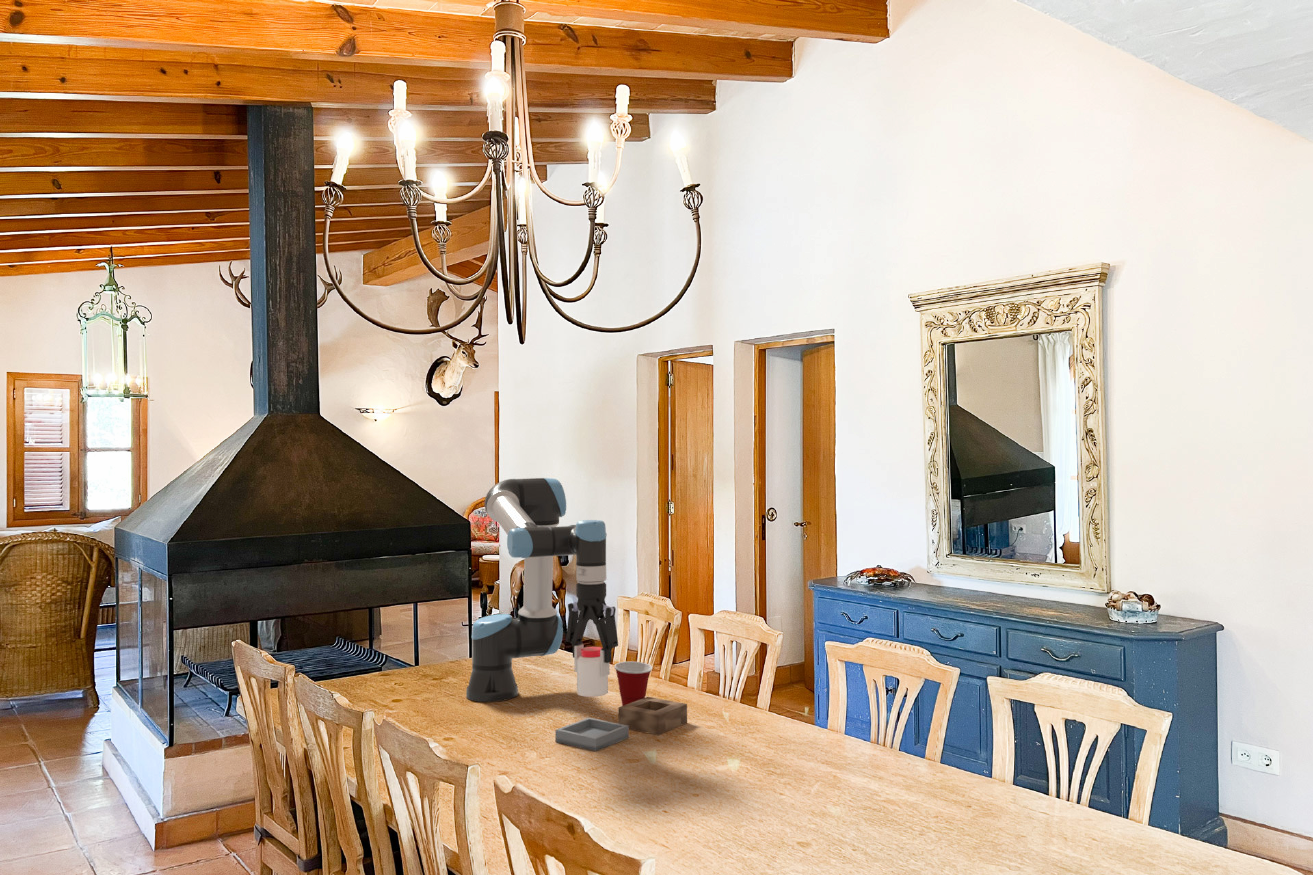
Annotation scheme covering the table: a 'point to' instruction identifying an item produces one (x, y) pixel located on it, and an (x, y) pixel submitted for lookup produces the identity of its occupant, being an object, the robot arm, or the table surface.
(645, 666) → the plastic cup
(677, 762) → the table surface
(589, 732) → the tray
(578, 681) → the pill bottle
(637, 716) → the cinder block
